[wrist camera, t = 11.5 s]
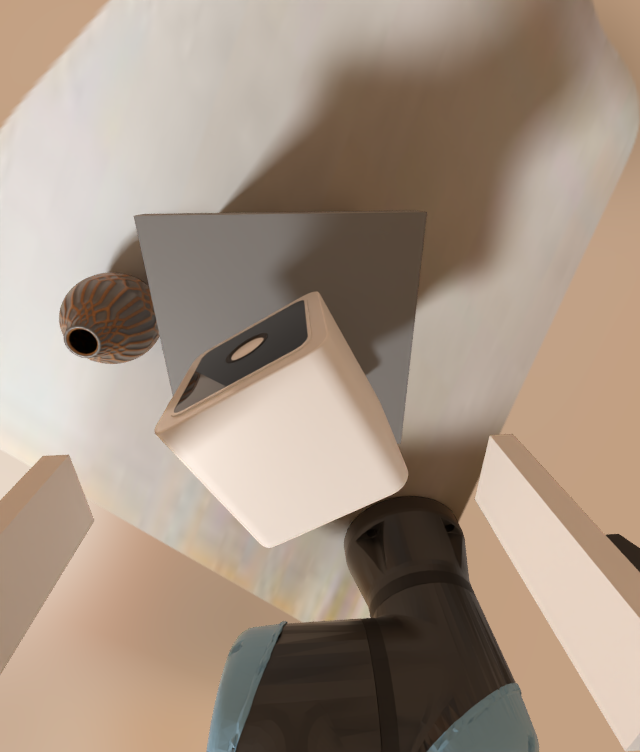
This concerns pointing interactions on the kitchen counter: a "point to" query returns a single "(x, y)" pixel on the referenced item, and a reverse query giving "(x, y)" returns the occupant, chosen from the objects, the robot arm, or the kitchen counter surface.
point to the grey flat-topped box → (288, 283)
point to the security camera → (284, 425)
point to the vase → (109, 318)
